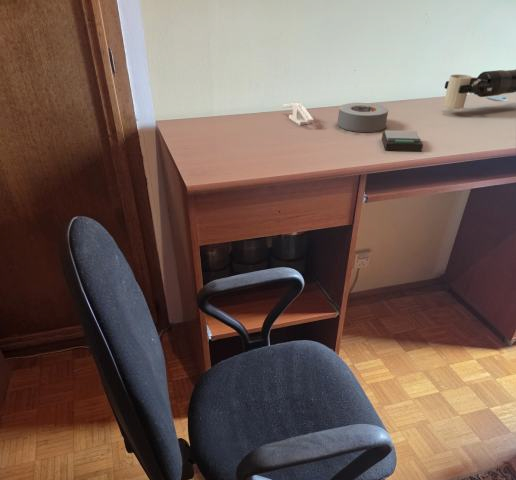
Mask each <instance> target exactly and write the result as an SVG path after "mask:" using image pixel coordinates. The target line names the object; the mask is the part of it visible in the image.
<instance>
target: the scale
mask: <svg viewBox="0 0 516 480" xmlns="http://www.w3.org/2000/svg"><path fill="white" fill-rule="evenodd" d="M381 142H382V145H383V149H384V151H385V152H413V153H417V152H418V153H419V152H420V153H421V152H423V151H422V150H423V147H424V144H423V142H422V139H421V137H420V135H419V134H418V132H417V130H386V129H384V132H382V135H381Z"/></svg>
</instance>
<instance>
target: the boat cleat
mask: <svg viewBox="0 0 516 480" xmlns="http://www.w3.org/2000/svg"><path fill="white" fill-rule="evenodd" d="M282 107H283V108H291V107H292V114H289V115H288V118H289V119H290V120H292V121H293V122H295V123H296V124H297V125H299V126H304V125H311V124H312V123H314V121H315V119H314V118H313V116H312V115H311V114H310V113H309V111H308V110H307V108H306V106H304V104H303V103H302V102H293V103H284V104H283V105H282Z"/></svg>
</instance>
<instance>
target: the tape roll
mask: <svg viewBox="0 0 516 480" xmlns="http://www.w3.org/2000/svg"><path fill="white" fill-rule="evenodd" d="M388 113H389V109H388V108H387V107H385V106H383V105H380V104H375V103H371V102H370V103H369V102H350V103H345V104H341V105H340V106H339V107H338V116H337V126H338V127H339V128H341V129H342V130H346V131H349V132H356V133H376V132H380V131H383V130H385V129H386V125H387V124H386V123H387V120H388V115H389V114H388Z"/></svg>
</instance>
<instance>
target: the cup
mask: <svg viewBox="0 0 516 480" xmlns="http://www.w3.org/2000/svg"><path fill="white" fill-rule="evenodd" d="M471 78H472V76H471V75H468V74H450V76H449V78H448V81H449V83H448V87H447V89H446V91H445V96H444V100H443V104H442V106H443V108H445V109H448V110H449V109H450V110H462V109H464V108H465V104H466V101H467V97H468V93H461V94H460V93H459V88H460V86H461V85H470V82H471Z"/></svg>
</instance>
